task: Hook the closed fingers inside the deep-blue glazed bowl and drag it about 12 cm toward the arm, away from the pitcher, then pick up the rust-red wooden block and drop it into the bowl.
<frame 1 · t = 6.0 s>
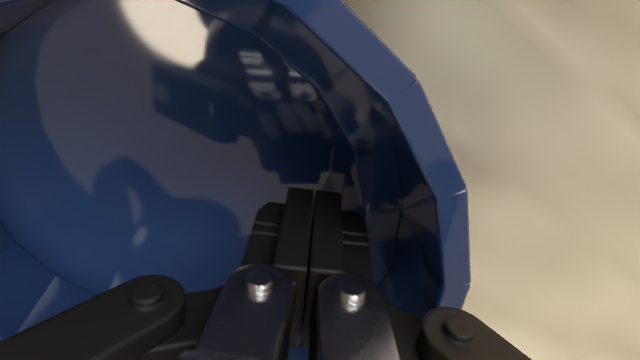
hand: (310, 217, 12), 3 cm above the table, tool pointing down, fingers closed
bowl: (174, 170, 14), point 1 cm above the table, tilted 8°, touching gripper
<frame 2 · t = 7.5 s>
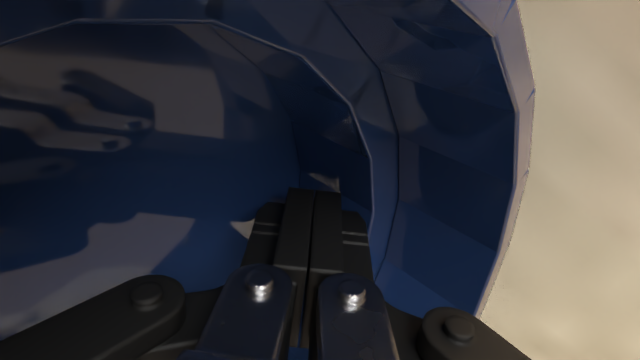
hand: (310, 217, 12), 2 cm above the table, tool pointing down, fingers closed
bowl: (102, 246, 10), point 5 cm above the table, tilted 47°, touching gripper, hand
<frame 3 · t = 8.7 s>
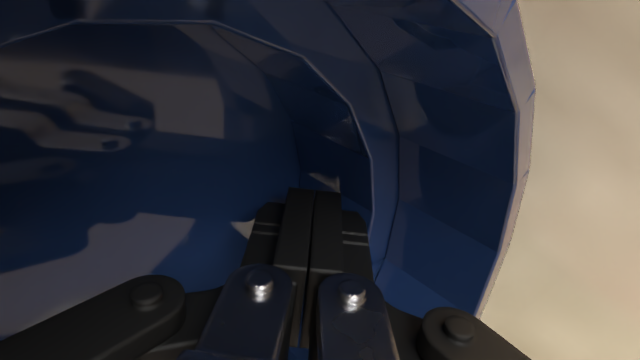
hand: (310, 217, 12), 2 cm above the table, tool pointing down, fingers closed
bowl: (102, 246, 10), point 5 cm above the table, tilted 47°, touching gripper, hand
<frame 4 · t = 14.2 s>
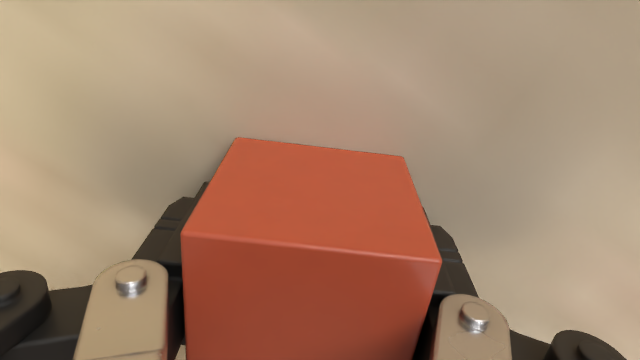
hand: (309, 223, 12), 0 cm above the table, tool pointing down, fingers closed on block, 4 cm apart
block: (311, 217, 12), on the table, touching gripper
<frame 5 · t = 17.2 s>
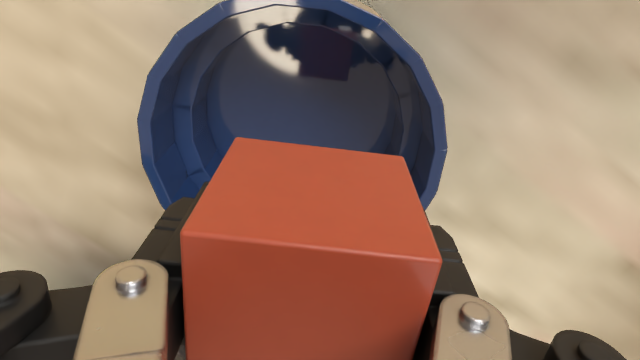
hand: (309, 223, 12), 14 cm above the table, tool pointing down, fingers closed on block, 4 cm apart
bowl: (301, 114, 25), on the table
block: (311, 217, 12), point 14 cm above the table, touching gripper
when the fingers open (3 cm above the table, at t = 20.4 s): block drops 2 cm, resting on bowl.
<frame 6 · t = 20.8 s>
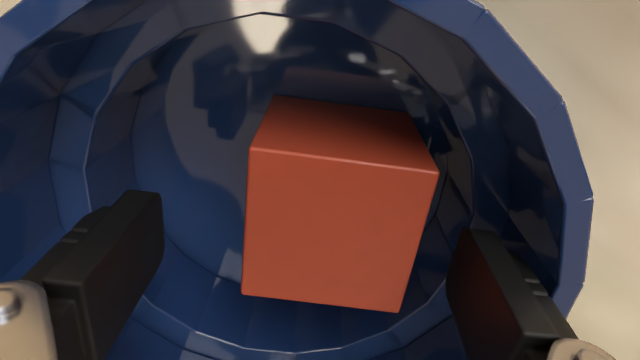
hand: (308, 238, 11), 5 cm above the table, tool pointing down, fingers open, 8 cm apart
bowl: (290, 167, 15), on the table, touching block
block: (332, 164, 15), point 1 cm above the table, touching bowl
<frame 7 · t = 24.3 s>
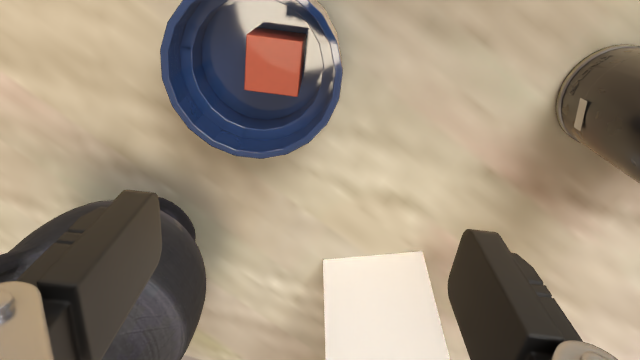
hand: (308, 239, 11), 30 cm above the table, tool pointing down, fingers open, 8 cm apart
pitcher: (143, 218, 47), on the table
bowl: (263, 59, 38), on the table, touching block
milk: (375, 293, 51), on the table
block: (279, 56, 38), point 1 cm above the table, touching bowl
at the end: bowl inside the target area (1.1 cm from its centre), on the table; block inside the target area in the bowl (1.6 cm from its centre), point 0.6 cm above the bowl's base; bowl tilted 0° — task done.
